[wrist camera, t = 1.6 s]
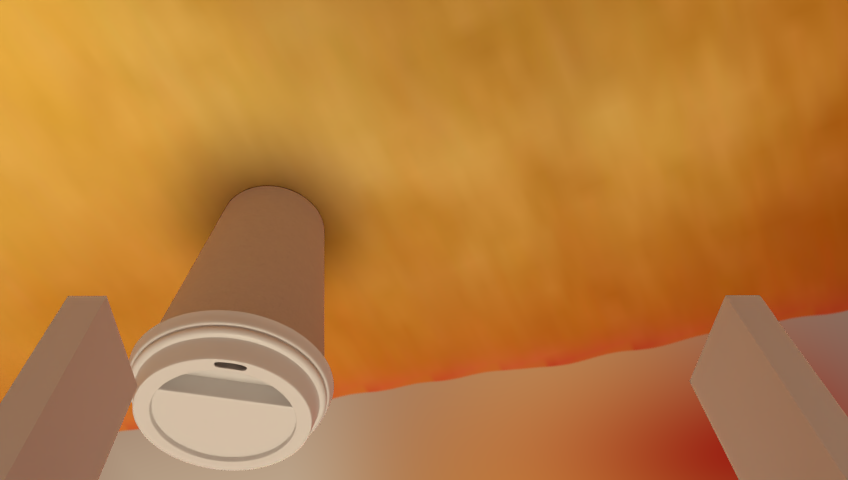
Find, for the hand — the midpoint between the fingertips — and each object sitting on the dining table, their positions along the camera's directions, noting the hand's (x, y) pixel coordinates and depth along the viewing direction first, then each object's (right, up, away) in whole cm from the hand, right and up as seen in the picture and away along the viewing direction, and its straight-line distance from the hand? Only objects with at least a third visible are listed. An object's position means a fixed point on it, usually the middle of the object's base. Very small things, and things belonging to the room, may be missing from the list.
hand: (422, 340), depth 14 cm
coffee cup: (-10, +3, +27) cm, 29 cm away
